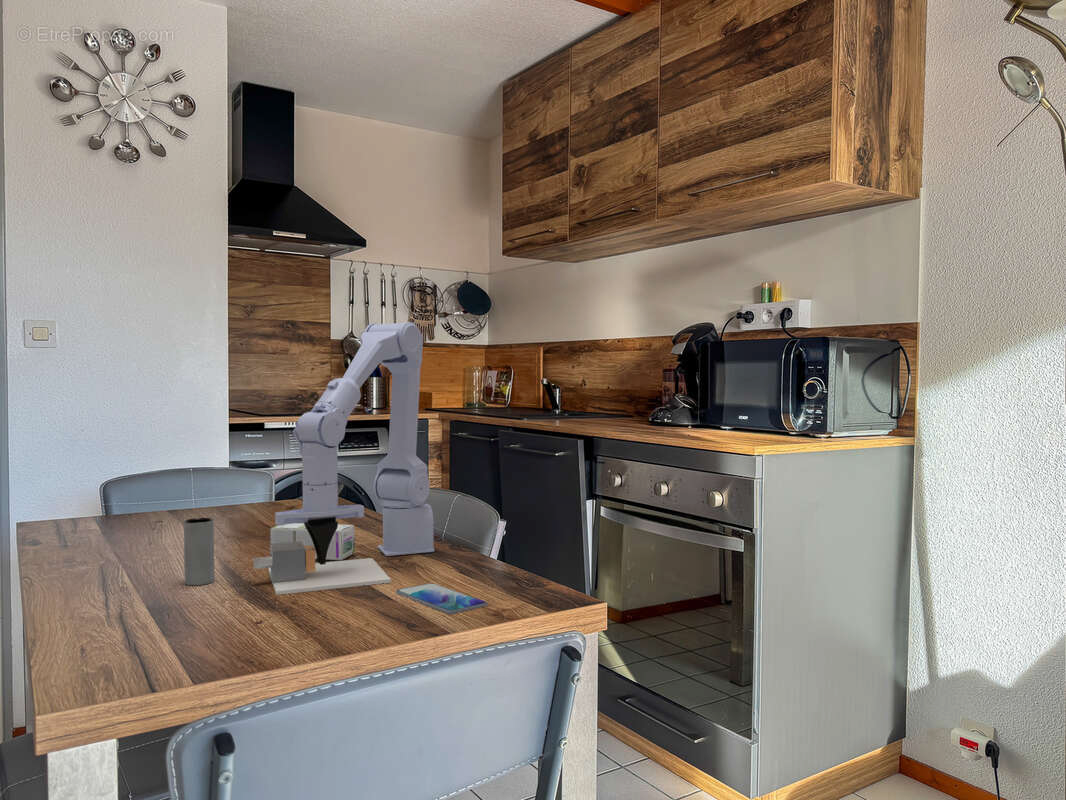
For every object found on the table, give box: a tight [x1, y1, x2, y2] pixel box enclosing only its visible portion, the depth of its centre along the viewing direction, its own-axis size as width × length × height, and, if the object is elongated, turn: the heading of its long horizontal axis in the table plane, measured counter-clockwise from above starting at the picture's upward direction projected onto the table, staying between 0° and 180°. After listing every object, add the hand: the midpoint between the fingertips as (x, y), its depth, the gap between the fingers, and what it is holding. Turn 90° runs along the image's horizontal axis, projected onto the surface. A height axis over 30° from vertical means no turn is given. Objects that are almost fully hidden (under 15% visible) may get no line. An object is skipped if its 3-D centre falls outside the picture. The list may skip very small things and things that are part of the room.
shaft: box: [253, 545, 316, 572], centre depth 128 cm, size 10×4×4 cm, turn 113°
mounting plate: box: [268, 557, 392, 596], centre depth 131 cm, size 18×16×1 cm
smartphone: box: [395, 583, 488, 615], centre depth 118 cm, size 7×1×15 cm
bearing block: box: [269, 541, 305, 583], centre depth 129 cm, size 5×6×5 cm
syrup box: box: [269, 522, 356, 561], centre depth 146 cm, size 6×6×14 cm
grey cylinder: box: [183, 517, 215, 586], centre depth 128 cm, size 4×4×10 cm
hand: (321, 563), depth 131 cm, fingers closed
